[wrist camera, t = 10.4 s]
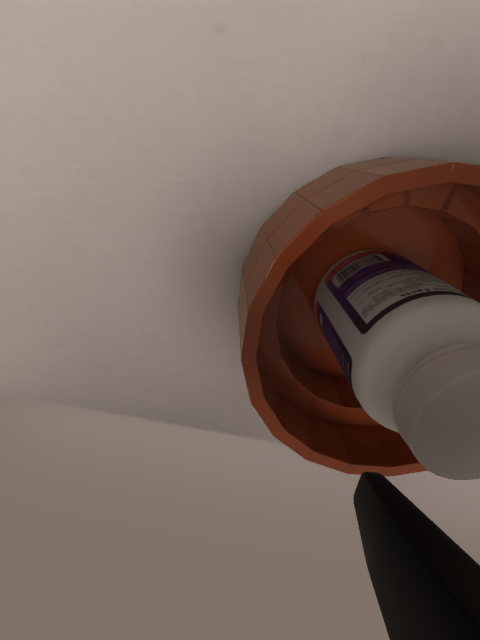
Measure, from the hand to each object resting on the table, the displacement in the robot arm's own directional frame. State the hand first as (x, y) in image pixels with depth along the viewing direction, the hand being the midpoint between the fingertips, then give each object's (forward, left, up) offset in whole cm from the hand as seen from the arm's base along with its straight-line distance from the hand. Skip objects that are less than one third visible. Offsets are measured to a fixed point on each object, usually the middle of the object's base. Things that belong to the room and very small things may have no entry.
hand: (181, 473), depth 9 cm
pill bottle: (+1, -8, -11) cm, 14 cm away
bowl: (+1, -8, -12) cm, 14 cm away
